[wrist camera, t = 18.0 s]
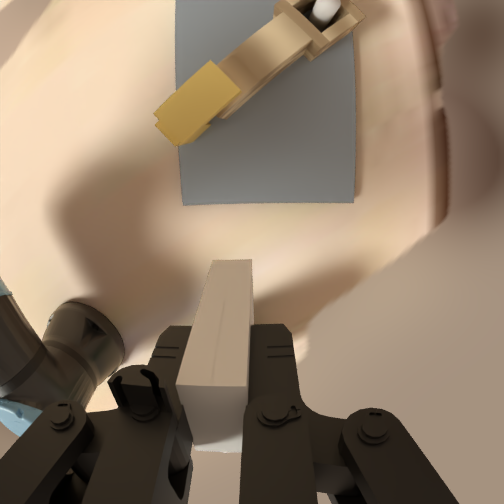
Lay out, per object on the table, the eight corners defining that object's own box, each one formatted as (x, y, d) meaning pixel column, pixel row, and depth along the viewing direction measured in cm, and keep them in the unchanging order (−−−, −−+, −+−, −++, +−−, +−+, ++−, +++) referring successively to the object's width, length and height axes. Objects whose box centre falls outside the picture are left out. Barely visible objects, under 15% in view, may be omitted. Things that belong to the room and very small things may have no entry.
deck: (184, 202, 40) (158, 229, 30) (177, 3, 29) (150, -31, 19) (350, 200, 39) (378, 226, 29) (346, 0, 28) (371, -35, 18)
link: (311, -3, 28) (320, -26, 21) (348, 33, 29) (365, 16, 23) (196, 89, 33) (181, 81, 26) (233, 126, 34) (227, 126, 28)
